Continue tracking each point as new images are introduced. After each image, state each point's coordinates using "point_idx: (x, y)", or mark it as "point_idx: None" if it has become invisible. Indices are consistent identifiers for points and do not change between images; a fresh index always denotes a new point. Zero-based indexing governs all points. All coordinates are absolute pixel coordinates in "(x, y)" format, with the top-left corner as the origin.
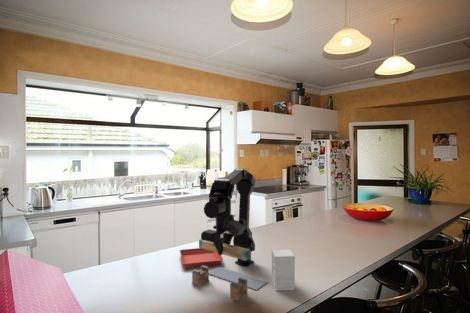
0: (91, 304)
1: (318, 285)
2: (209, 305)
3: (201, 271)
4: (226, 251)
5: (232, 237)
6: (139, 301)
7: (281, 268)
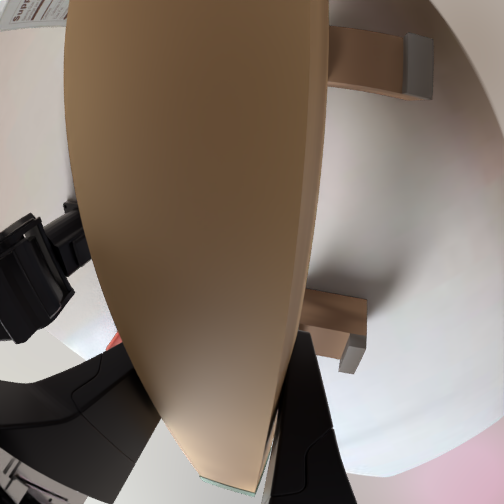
0: (494, 418)
1: None
2: (495, 172)
3: (316, 340)
4: (297, 317)
5: (22, 390)
6: (491, 376)
7: None
